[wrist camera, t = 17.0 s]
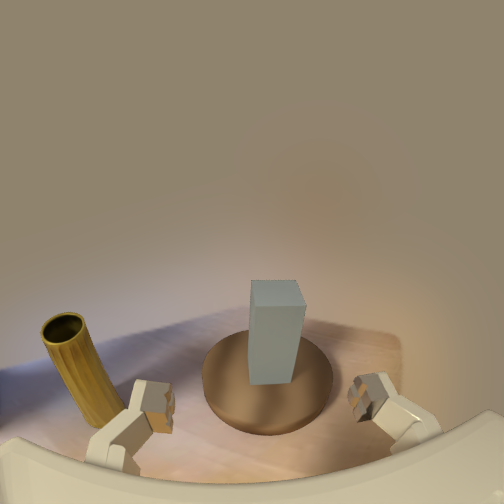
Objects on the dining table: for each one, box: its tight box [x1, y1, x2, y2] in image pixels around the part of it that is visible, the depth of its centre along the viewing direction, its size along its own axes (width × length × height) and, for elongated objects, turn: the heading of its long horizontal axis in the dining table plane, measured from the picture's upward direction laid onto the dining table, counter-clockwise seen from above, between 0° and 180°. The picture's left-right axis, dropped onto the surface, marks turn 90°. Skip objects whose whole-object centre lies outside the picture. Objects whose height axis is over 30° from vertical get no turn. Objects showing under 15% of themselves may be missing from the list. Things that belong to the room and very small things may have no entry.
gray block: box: [248, 280, 306, 385], centre depth 31 cm, size 5×5×12 cm
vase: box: [40, 312, 125, 429], centre depth 24 cm, size 6×6×14 cm
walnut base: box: [202, 330, 333, 436], centre depth 34 cm, size 17×17×3 cm
